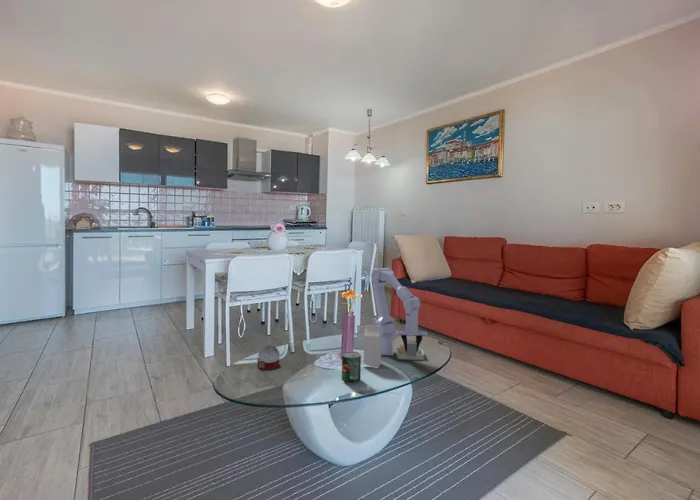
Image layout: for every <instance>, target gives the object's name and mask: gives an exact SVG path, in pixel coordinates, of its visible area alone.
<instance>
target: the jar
mask: <svg viewBox="0 0 700 500" xmlns="http://www.w3.org/2000/svg"><path fill="white" fill-rule="evenodd" d="M399 348H400V354H406V352H405V346H404V344H400V345H399Z"/></svg>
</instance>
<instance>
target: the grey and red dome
mask: <svg viewBox="0 0 700 500" xmlns="http://www.w3.org/2000/svg"><path fill="white" fill-rule="evenodd" d="M257 357H258V358H257V368H258V369H261V370H270V369H276V368H278V367H279V366H280V357H281V353H280V351H279V350H278V347H276V346H275V345H271V344H269V345H265V346H263V347H261V349H259V351H258V354H257Z"/></svg>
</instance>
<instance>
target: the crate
mask: <svg viewBox="0 0 700 500" xmlns="http://www.w3.org/2000/svg"><path fill="white" fill-rule="evenodd" d="M395 350H396V351H395V353H396V357H397V360H409V361H410V360H413V361H414V360H415V361H416V360H419V361H425V359H426V357H425V352H424V350H423V349H422V347H419V348H418V352H417V353H416V357H415V356H407V355H406V354H400V347H396V348H395Z"/></svg>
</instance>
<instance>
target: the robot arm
mask: <svg viewBox="0 0 700 500" xmlns="http://www.w3.org/2000/svg"><path fill="white" fill-rule="evenodd" d="M370 275H371V280H372V286H373V293H374V298H375V303H376V308H377V314H378V319H377V320H376V321H375V326H381V356H394V355H395V353H394V350H393V348H394V347H393V343H394V341H393V337H394V336H395V335H396V337H401V339H402V342H403V345H404V346H405V352H407V340H408V337H415V341H416V342H417V352H418V348H420V347H419V346H420V344H421V342H422V341H423V337H425V338H428V332H427V331H421V330H420V331H419V309H421V306H422V302H421V299H420V297H418V296H415V295H414V294H412V292H411V291H410V290H409V288H408V287H407V286H403V285H402V284H401V283H400V282H399V280H398V279H397V278H396V276H395V272H394V271H393V270H392V268H390V267H382V268H378V267H375V268H373V270H372V272H371V274H370ZM386 284H389V285H390V286H391V287H392V288H393V289H394V290H395V292H396V293H395V294H396V295H397V297H399V299H400V300H401V301H402V302H403V308H404V312H405V330H397V326H396V324H395V321H394V318H392V317H391V316H390V314H389V307H388V302H387V297H386V291H385V285H386Z"/></svg>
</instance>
